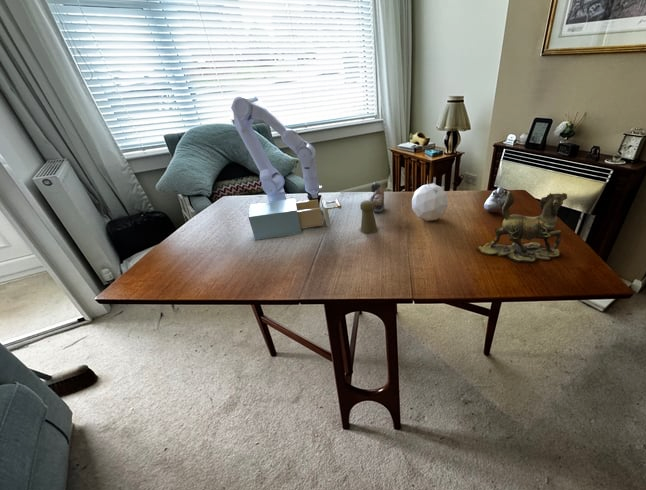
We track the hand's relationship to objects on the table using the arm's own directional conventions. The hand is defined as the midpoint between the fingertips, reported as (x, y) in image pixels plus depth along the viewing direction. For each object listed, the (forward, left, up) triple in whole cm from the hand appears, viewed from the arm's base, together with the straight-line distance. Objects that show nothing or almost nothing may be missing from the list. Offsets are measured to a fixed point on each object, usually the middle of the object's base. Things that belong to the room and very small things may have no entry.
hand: (316, 208), depth 130 cm
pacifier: (+1, 0, -2) cm, 2 cm away
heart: (+28, +69, -2) cm, 75 cm away
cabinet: (+12, -16, -1) cm, 20 cm away
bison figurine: (+6, +25, -2) cm, 26 cm away
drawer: (+12, -2, -1) cm, 12 cm away
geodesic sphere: (+23, +42, -2) cm, 48 cm away
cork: (+24, +17, -2) cm, 30 cm away
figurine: (+57, +58, -2) cm, 82 cm away
